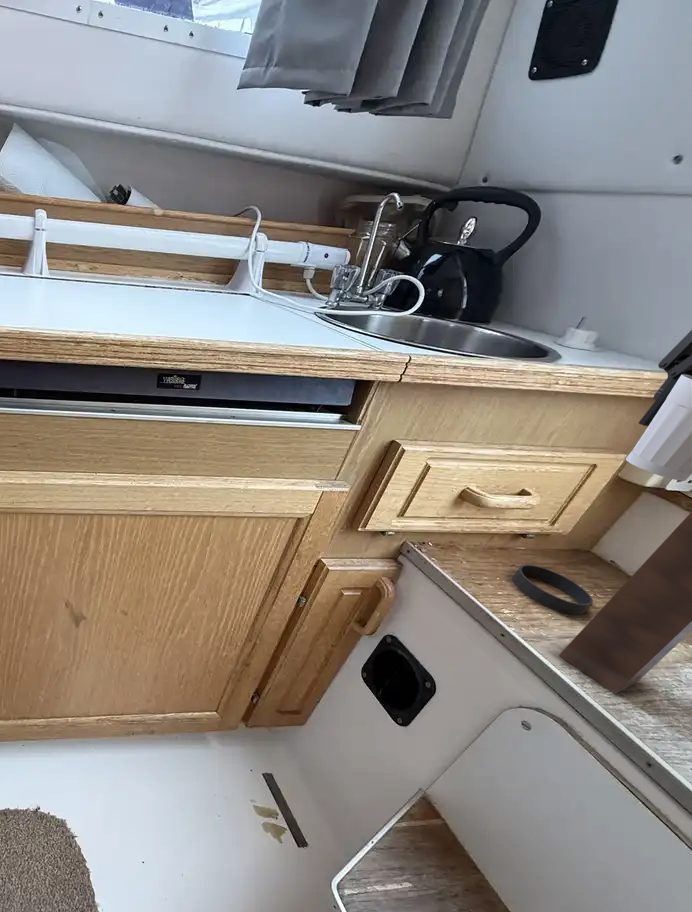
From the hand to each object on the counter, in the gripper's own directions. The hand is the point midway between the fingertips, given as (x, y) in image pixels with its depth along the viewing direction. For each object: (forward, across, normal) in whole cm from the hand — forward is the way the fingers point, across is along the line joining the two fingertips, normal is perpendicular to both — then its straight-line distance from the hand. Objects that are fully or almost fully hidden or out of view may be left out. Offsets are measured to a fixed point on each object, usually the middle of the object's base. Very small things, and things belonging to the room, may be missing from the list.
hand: (680, 439), depth 73 cm
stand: (+27, +16, -7) cm, 32 cm away
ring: (+27, 0, 0) cm, 27 cm away
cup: (+5, 0, 0) cm, 5 cm away
